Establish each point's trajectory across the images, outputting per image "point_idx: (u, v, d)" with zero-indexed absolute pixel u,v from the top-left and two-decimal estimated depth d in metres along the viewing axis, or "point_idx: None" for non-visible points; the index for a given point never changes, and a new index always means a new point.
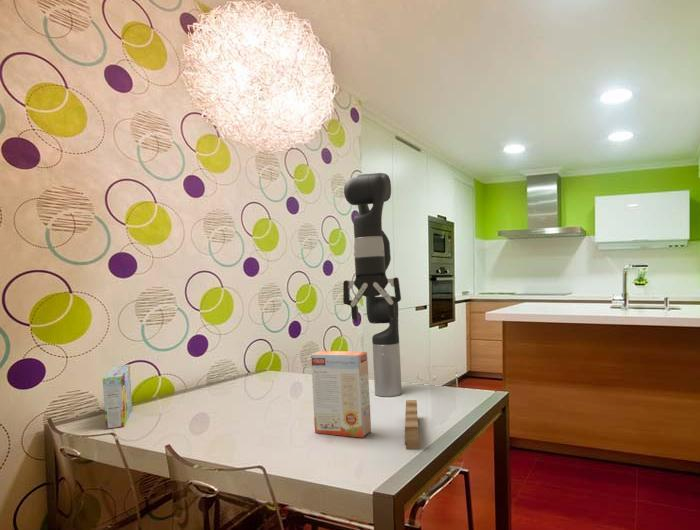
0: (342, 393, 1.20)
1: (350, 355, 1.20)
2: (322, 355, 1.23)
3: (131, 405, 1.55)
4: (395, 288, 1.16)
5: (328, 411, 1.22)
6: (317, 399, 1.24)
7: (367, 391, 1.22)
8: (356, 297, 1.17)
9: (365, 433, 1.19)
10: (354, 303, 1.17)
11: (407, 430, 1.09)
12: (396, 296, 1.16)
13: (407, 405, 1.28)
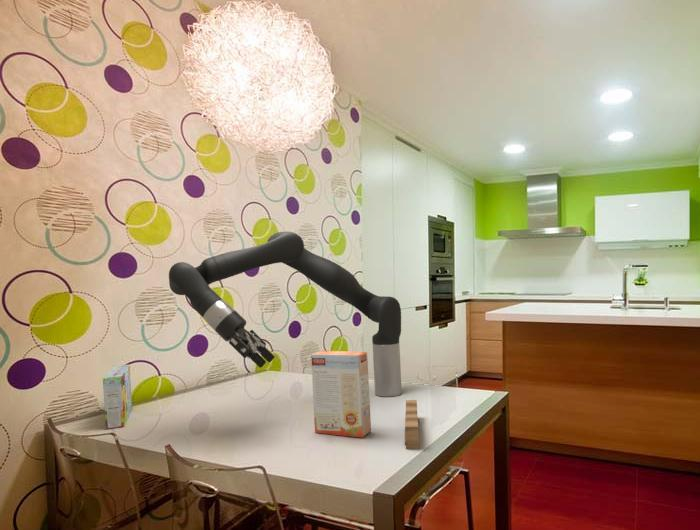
0: (342, 393, 1.20)
1: (350, 355, 1.20)
2: (322, 355, 1.23)
3: (131, 405, 1.55)
4: None
5: (328, 411, 1.22)
6: (317, 399, 1.24)
7: (367, 391, 1.22)
8: None
9: (365, 433, 1.19)
10: (257, 351, 1.31)
11: (407, 430, 1.09)
12: None
13: (407, 405, 1.28)
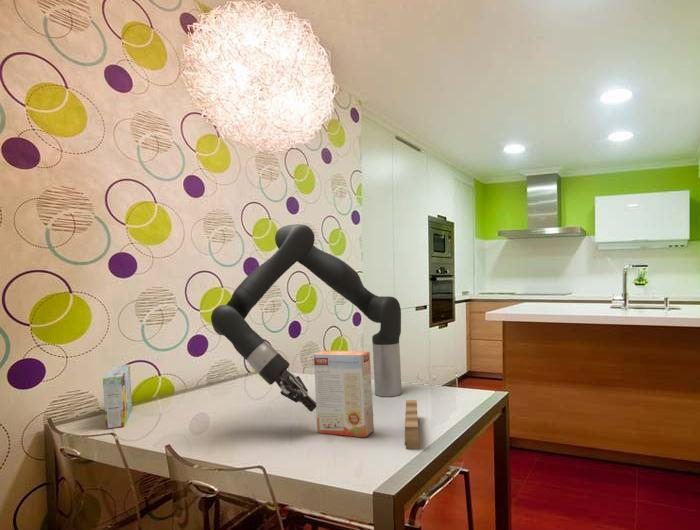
0: (345, 392, 1.20)
1: (353, 355, 1.20)
2: (325, 355, 1.23)
3: (131, 405, 1.55)
4: None
5: (331, 410, 1.22)
6: (319, 399, 1.23)
7: (370, 391, 1.22)
8: None
9: (368, 433, 1.19)
10: None
11: (407, 430, 1.09)
12: None
13: (407, 405, 1.28)
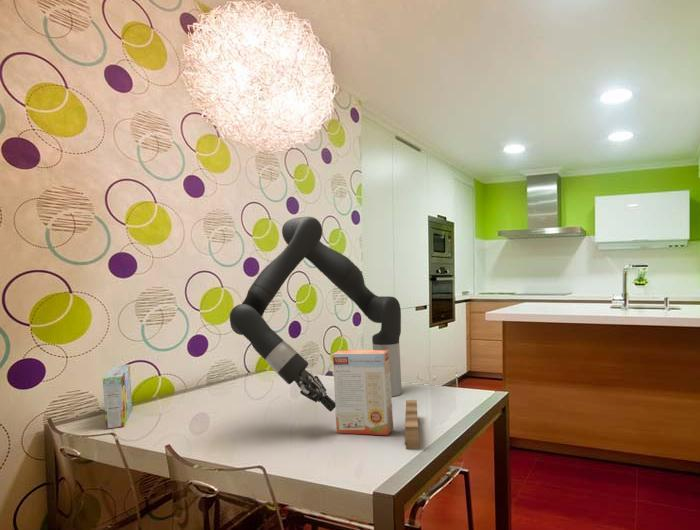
0: (366, 391, 1.20)
1: (375, 353, 1.20)
2: (345, 354, 1.23)
3: (131, 405, 1.55)
4: None
5: (351, 410, 1.21)
6: (339, 399, 1.23)
7: (390, 389, 1.23)
8: None
9: (389, 431, 1.20)
10: None
11: (407, 430, 1.09)
12: None
13: (407, 405, 1.28)
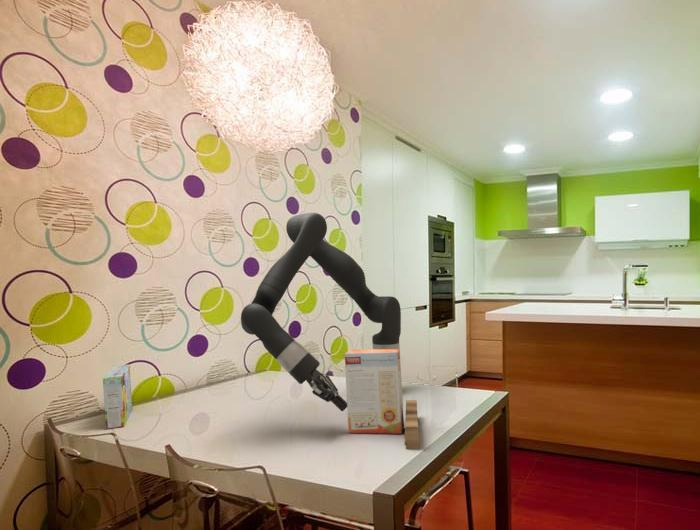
0: (379, 390, 1.21)
1: (388, 352, 1.21)
2: (357, 354, 1.22)
3: (131, 405, 1.55)
4: None
5: (364, 409, 1.21)
6: (351, 398, 1.22)
7: (401, 388, 1.24)
8: None
9: (402, 429, 1.21)
10: None
11: (407, 430, 1.09)
12: None
13: (407, 405, 1.28)
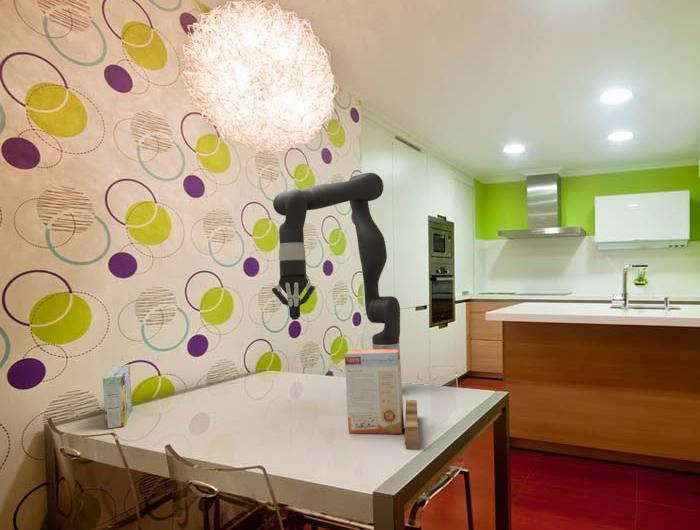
0: (379, 390, 1.21)
1: (388, 353, 1.21)
2: (357, 354, 1.22)
3: (131, 405, 1.55)
4: (306, 293, 1.34)
5: (364, 409, 1.21)
6: (351, 399, 1.22)
7: (401, 388, 1.24)
8: (288, 298, 1.35)
9: (402, 429, 1.21)
10: (291, 303, 1.35)
11: (407, 430, 1.09)
12: (301, 299, 1.35)
13: (407, 405, 1.28)
